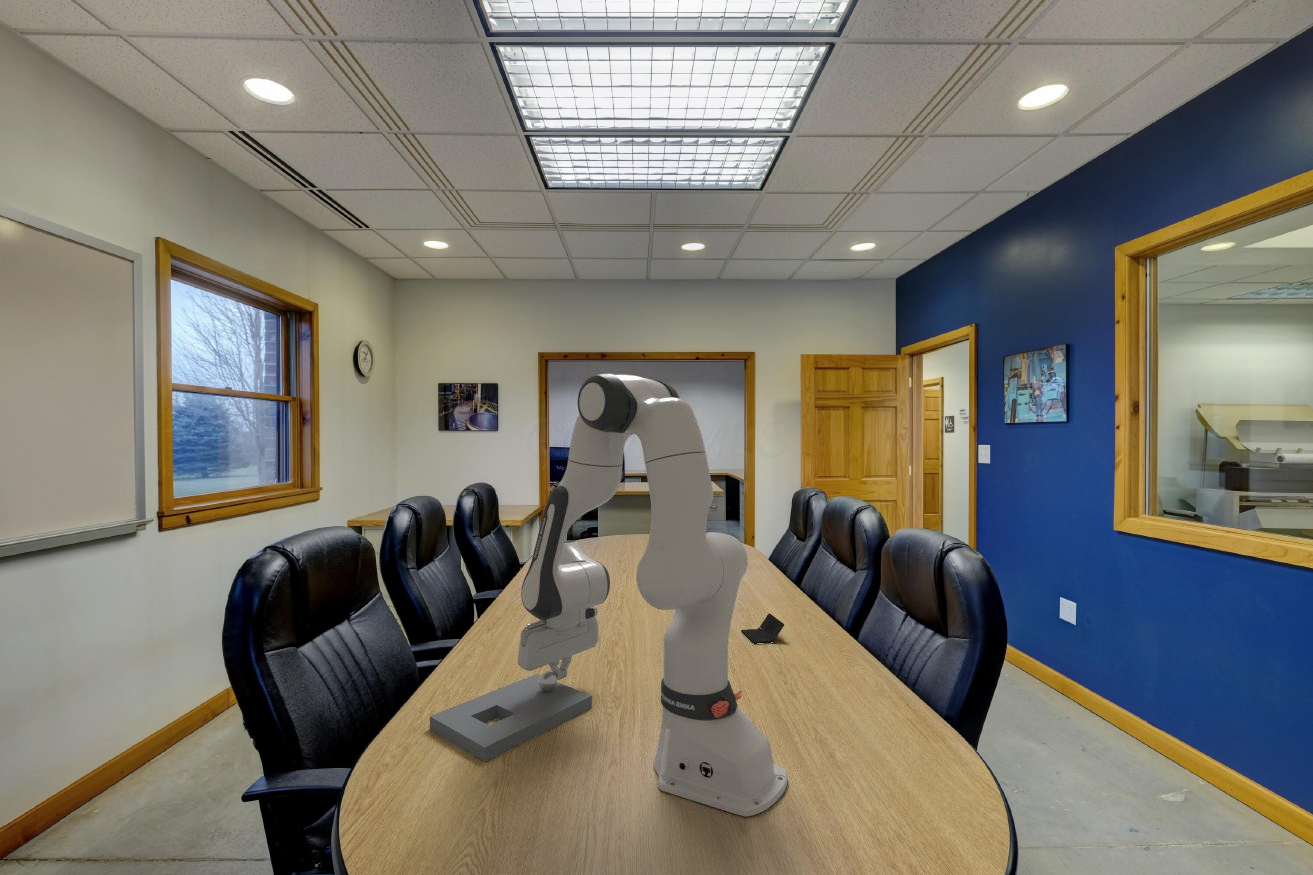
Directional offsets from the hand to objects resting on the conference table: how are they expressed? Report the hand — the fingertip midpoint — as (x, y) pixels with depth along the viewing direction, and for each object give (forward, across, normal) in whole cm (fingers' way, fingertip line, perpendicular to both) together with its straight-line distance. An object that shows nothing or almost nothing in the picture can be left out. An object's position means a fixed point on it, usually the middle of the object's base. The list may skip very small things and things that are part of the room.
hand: (559, 678), depth 121 cm
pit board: (+4, -12, 0) cm, 13 cm away
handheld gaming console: (+5, +63, -15) cm, 65 cm away
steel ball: (0, -3, 0) cm, 3 cm away
